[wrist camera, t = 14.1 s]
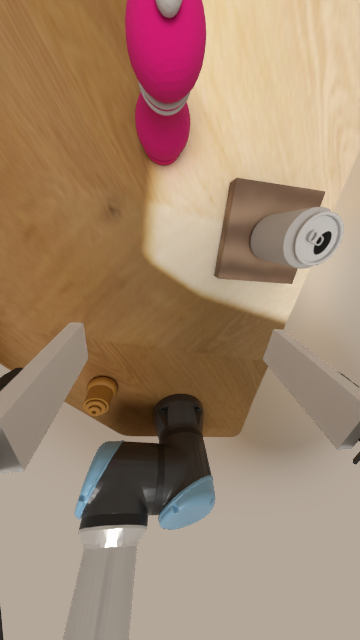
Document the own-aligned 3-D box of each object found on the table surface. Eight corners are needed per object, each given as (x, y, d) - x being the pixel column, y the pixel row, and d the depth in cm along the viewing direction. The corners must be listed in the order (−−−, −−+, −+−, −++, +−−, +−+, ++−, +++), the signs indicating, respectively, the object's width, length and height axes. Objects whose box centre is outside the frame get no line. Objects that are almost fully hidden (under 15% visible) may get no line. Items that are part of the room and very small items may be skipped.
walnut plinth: (283, 280, 40) (292, 283, 37) (214, 275, 38) (218, 278, 35) (311, 195, 33) (325, 191, 31) (230, 182, 31) (237, 177, 28)
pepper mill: (194, 148, 29) (253, 3, 11) (159, 180, 30) (159, 99, 12) (166, 93, 26) (183, -232, 8) (128, 131, 27) (68, -73, 9)
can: (272, 265, 35) (322, 279, 24) (240, 250, 33) (279, 258, 23) (295, 225, 32) (363, 221, 22) (262, 206, 31) (319, 192, 20)
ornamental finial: (117, 374, 47) (118, 395, 50) (87, 374, 46) (90, 396, 49) (110, 400, 39) (112, 422, 43) (73, 401, 38) (78, 424, 42)
